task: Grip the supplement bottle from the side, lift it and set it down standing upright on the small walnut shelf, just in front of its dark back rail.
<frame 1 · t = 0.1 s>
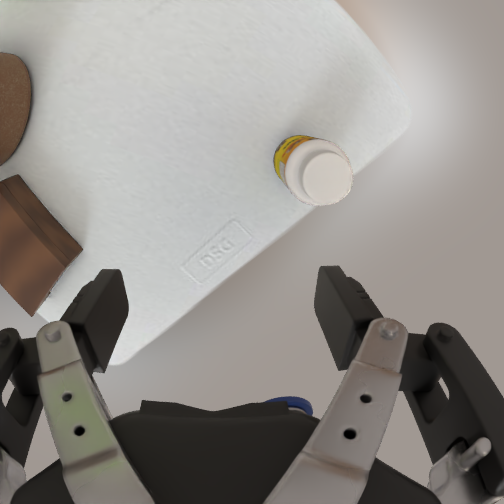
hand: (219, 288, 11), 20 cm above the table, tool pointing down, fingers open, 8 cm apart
supplement bottle: (297, 160, 29), on the table
shelf: (30, 240, 30), on the table
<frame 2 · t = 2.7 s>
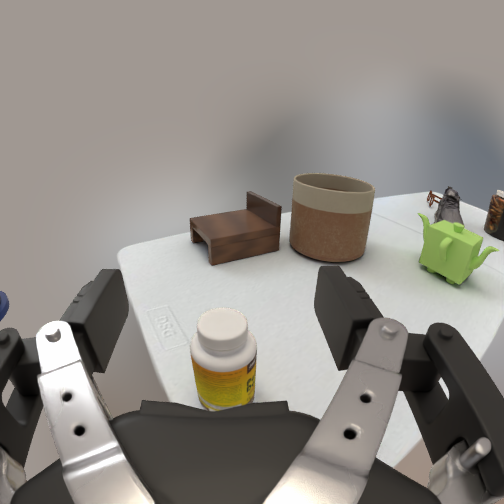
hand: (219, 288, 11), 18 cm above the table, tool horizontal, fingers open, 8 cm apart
supplement bottle: (226, 398, 26), on the table
planter: (326, 247, 59), on the table
shelf: (233, 245, 58), on the table
teapot: (444, 273, 49), on the table
jar: (497, 235, 72), on the table
glasses: (442, 208, 94), on the table
shoe: (446, 228, 74), on the table
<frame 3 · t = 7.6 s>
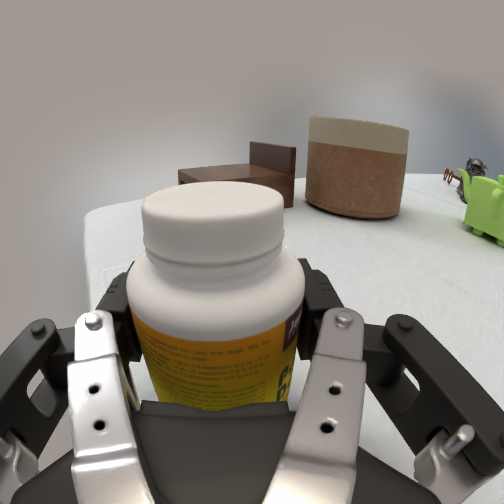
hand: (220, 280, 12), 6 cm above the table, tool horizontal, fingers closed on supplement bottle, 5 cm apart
supplement bottle: (225, 415, 12), on the table, touching gripper
planter: (352, 206, 45), on the table
shelf: (233, 202, 44), on the table
teapot: (491, 237, 36), on the table
glasses: (460, 186, 82), on the table
shoe: (473, 201, 61), on the table
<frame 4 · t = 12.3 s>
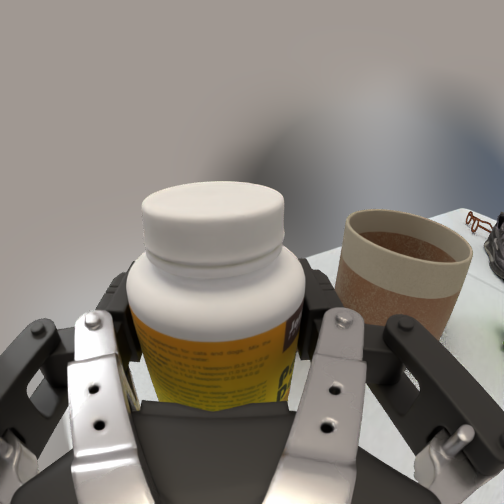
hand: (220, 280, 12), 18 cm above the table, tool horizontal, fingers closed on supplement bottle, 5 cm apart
supplement bottle: (225, 415, 12), point 11 cm above the table, touching gripper
planter: (383, 328, 35), on the table
glasses: (484, 233, 71), on the table
shoe: (502, 266, 51), on the table
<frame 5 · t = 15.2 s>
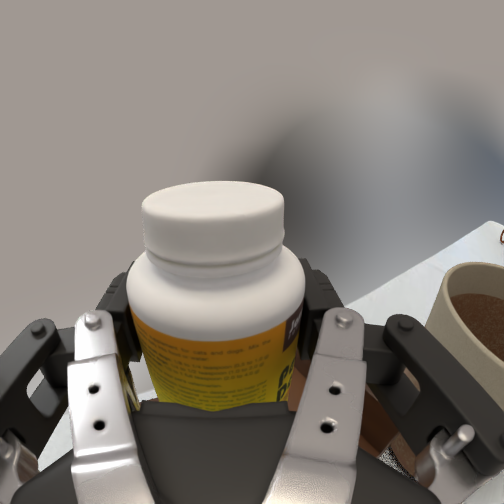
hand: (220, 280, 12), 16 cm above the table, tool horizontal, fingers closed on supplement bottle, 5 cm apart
supplement bottle: (225, 415, 12), point 10 cm above the table, touching gripper
planter: (451, 425, 19), on the table
shelf: (252, 463, 18), on the table
when the fingers open (11 cm above the table, at t = 17.2 s): supplement bottle stays where it is, resting on shelf.
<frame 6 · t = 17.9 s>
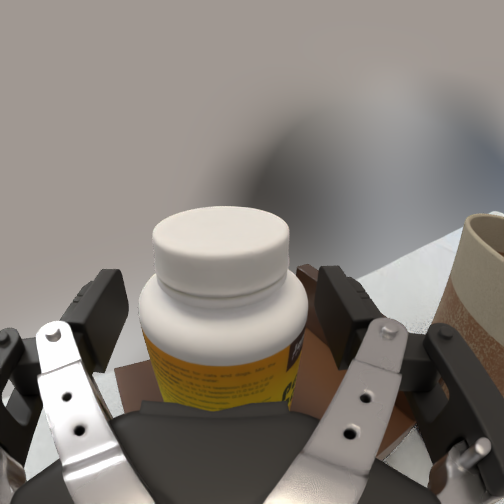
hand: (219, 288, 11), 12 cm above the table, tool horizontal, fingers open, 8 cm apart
supplement bottle: (230, 423, 13), point 5 cm above the table, touching shelf
planter: (478, 399, 16), on the table
shelf: (259, 444, 16), on the table
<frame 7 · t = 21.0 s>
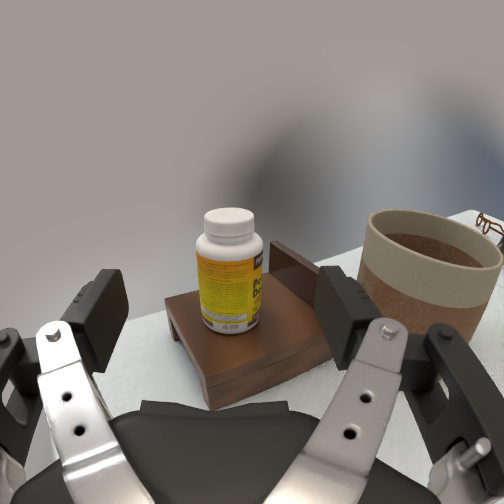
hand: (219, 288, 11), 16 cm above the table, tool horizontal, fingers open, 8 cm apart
supplement bottle: (231, 319, 27), point 5 cm above the table, touching shelf
planter: (404, 338, 31), on the table
shelf: (248, 347, 30), on the table
glasses: (494, 235, 67), on the table
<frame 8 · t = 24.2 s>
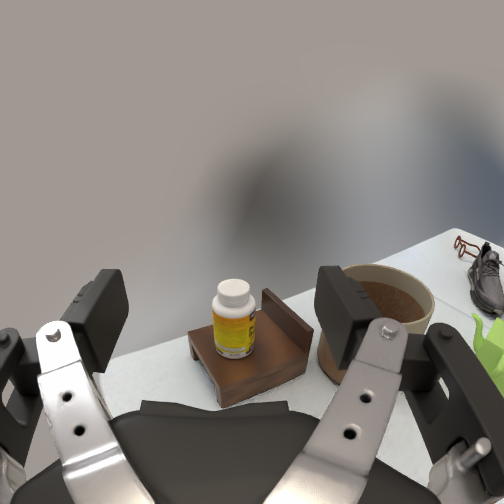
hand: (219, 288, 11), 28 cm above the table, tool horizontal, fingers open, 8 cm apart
supplement bottle: (234, 347, 40), point 5 cm above the table, touching shelf
planter: (362, 359, 43), on the table
shelf: (246, 364, 43), on the table
teapot: (488, 378, 34), on the table
glasses: (471, 257, 80), on the table
shoe: (482, 294, 59), on the table
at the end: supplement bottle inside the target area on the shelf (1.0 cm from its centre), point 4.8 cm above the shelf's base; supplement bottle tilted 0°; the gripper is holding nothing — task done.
